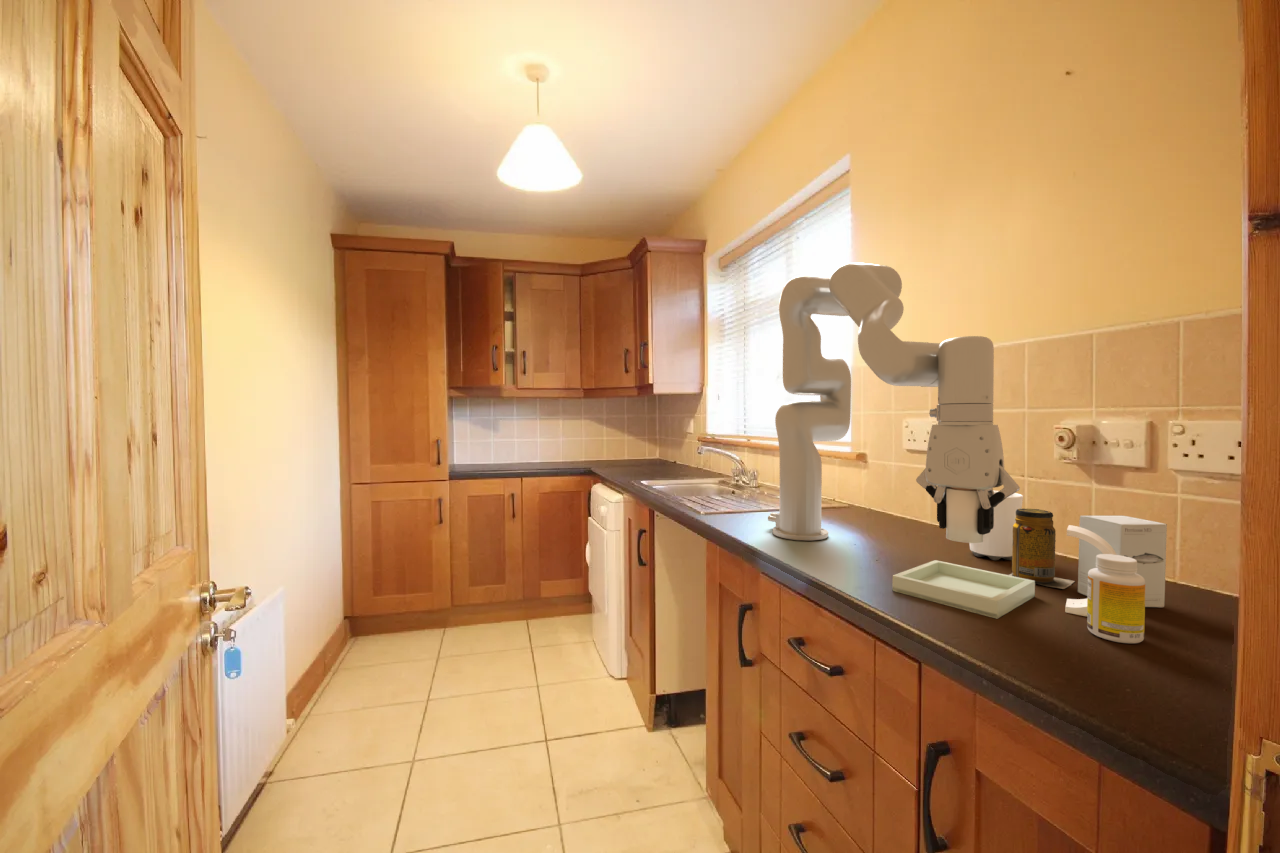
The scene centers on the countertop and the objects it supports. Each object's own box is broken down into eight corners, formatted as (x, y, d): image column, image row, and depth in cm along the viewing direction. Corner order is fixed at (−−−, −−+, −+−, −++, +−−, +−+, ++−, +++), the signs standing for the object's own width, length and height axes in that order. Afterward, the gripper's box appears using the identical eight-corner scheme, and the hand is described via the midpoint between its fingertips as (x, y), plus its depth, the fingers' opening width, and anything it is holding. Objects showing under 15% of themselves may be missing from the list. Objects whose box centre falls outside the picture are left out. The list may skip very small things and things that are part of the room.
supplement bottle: (1156, 645, 67) (1158, 563, 66) (1111, 645, 67) (1113, 563, 66) (1117, 627, 72) (1119, 552, 72) (1075, 627, 72) (1077, 552, 72)
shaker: (940, 538, 86) (940, 481, 86) (954, 534, 89) (954, 479, 89) (975, 544, 82) (975, 484, 82) (988, 539, 85) (988, 481, 85)
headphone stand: (1067, 603, 81) (1068, 524, 81) (1120, 613, 77) (1122, 530, 77) (1064, 612, 78) (1066, 529, 77) (1120, 623, 74) (1122, 536, 73)
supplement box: (1118, 609, 79) (1120, 523, 79) (1076, 592, 86) (1077, 514, 86) (1167, 608, 79) (1169, 523, 79) (1120, 591, 87) (1122, 513, 86)
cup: (953, 550, 113) (953, 490, 112) (997, 549, 113) (998, 489, 113) (986, 563, 103) (987, 497, 103) (1035, 562, 103) (1036, 496, 103)
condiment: (1016, 570, 98) (1017, 505, 98) (1075, 582, 92) (1076, 512, 91) (1003, 578, 94) (1004, 510, 93) (1063, 591, 87) (1064, 517, 87)
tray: (892, 590, 87) (892, 575, 87) (935, 573, 96) (935, 560, 96) (997, 618, 75) (997, 601, 75) (1034, 596, 84) (1034, 580, 84)
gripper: (899, 416, 90) (899, 524, 90) (1019, 415, 76) (1018, 543, 76) (921, 416, 94) (920, 519, 94) (1037, 415, 81) (1036, 536, 81)
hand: (964, 529), depth 85 cm, fingers closed on shaker, 5 cm apart
